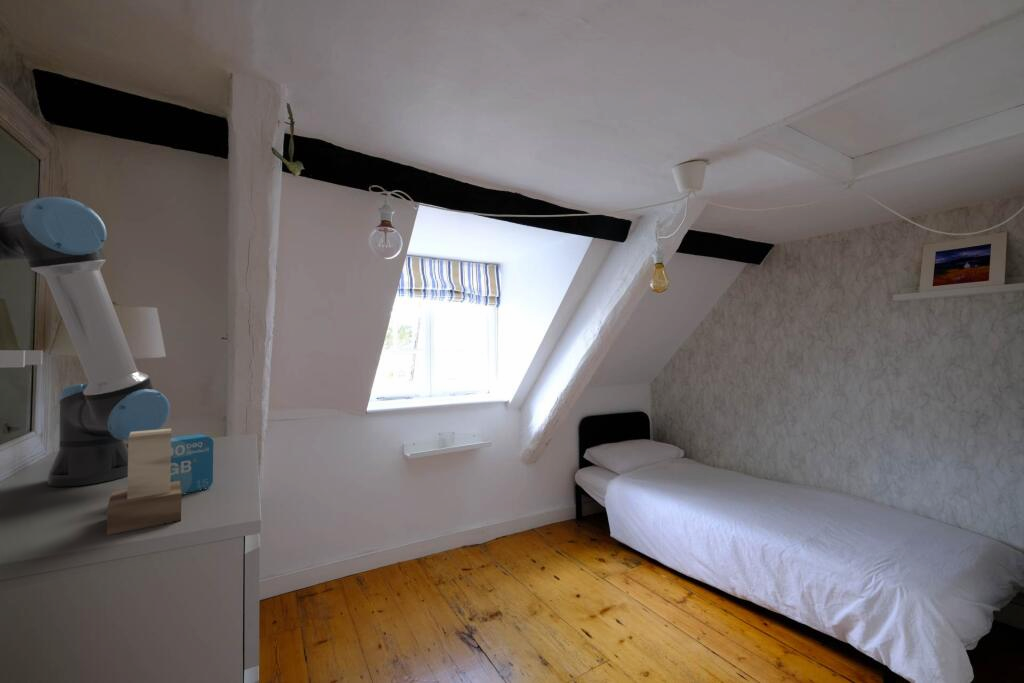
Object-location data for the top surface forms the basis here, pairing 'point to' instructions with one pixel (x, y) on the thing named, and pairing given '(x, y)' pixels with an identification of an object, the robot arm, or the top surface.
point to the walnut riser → (143, 509)
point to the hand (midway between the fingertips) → (34, 358)
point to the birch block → (149, 463)
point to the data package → (192, 462)
